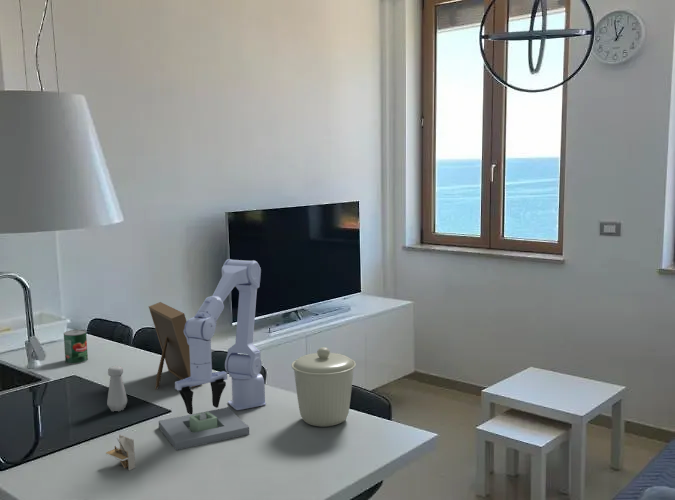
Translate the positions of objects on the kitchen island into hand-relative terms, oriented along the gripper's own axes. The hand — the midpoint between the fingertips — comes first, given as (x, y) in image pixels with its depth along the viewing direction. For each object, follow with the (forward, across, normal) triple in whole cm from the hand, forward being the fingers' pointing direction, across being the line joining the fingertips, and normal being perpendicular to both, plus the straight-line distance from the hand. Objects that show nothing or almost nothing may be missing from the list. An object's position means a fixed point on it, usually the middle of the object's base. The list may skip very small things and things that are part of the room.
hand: (202, 409), depth 184 cm
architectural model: (+7, +25, +8) cm, 27 cm away
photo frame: (+6, -10, -46) cm, 47 cm away
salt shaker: (+6, +13, -31) cm, 34 cm away
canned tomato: (+6, +9, -90) cm, 90 cm away
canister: (+6, -30, +14) cm, 34 cm away
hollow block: (+6, 0, 0) cm, 6 cm away
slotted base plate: (+6, 0, 0) cm, 6 cm away
